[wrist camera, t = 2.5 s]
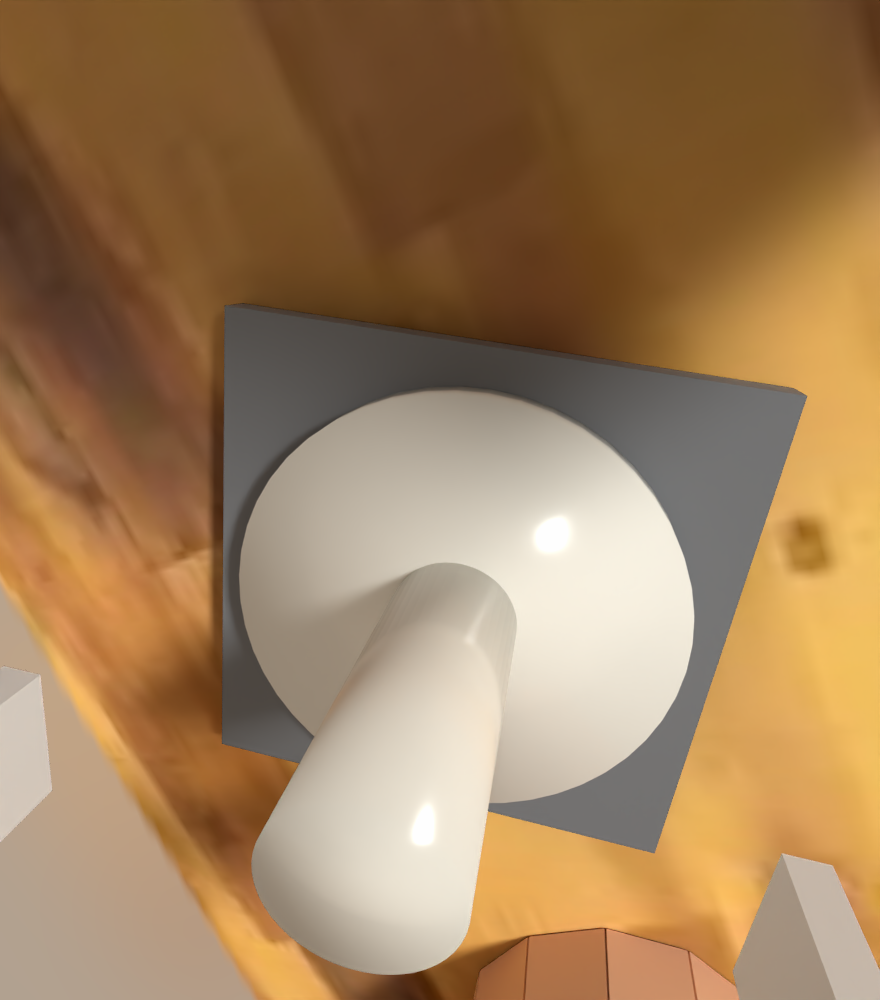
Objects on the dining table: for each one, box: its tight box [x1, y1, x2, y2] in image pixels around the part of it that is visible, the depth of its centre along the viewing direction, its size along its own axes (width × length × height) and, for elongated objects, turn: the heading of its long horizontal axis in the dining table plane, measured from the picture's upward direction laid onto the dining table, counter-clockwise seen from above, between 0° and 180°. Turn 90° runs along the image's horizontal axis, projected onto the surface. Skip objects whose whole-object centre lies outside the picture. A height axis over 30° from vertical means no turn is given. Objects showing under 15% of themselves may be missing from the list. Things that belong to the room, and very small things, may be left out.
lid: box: [239, 386, 694, 975], centre depth 14 cm, size 12×12×9 cm
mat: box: [222, 303, 807, 853], centre depth 18 cm, size 14×14×1 cm
